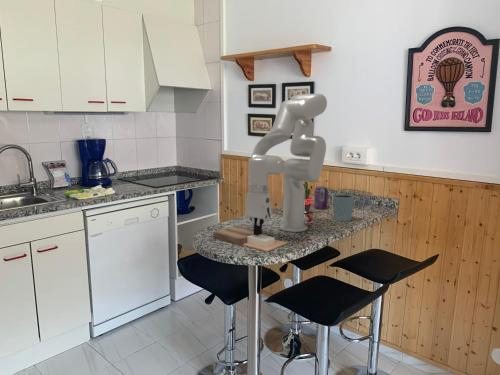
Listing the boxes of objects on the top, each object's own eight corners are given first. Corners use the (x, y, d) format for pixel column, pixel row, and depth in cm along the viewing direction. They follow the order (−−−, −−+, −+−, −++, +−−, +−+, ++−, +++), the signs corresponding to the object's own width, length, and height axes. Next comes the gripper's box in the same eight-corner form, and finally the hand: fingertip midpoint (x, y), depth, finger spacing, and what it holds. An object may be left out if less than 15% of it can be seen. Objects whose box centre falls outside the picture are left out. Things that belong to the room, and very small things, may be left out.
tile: (256, 239, 160) (256, 233, 159) (274, 243, 154) (274, 237, 153) (247, 242, 155) (247, 236, 155) (265, 247, 149) (265, 241, 149)
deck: (235, 230, 173) (235, 225, 172) (262, 237, 163) (262, 231, 163) (213, 238, 162) (213, 232, 162) (240, 245, 153) (240, 239, 152)
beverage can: (329, 208, 219) (330, 187, 216) (322, 210, 214) (323, 188, 212) (319, 206, 223) (319, 185, 221) (311, 208, 218) (312, 187, 216)
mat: (263, 237, 163) (263, 236, 163) (287, 243, 155) (287, 242, 155) (243, 245, 153) (243, 244, 153) (267, 251, 145) (267, 250, 145)
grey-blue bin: (330, 220, 191) (331, 196, 189) (333, 216, 200) (334, 193, 198) (351, 222, 187) (353, 198, 185) (354, 218, 197) (355, 194, 195)
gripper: (279, 190, 150) (278, 236, 153) (249, 185, 160) (249, 229, 163) (267, 192, 145) (266, 240, 148) (237, 188, 154) (237, 233, 157)
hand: (257, 234), depth 155 cm, fingers closed
